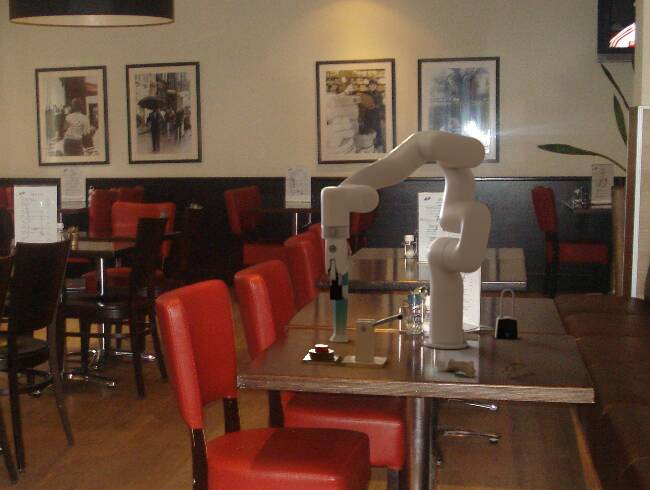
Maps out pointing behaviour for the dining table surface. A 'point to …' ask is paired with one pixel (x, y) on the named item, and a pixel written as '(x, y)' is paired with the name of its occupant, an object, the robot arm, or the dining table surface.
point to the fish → (517, 368)
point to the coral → (457, 366)
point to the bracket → (364, 345)
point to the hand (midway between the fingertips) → (336, 299)
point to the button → (321, 348)
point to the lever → (389, 319)
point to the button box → (321, 356)
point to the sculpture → (341, 310)
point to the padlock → (507, 322)
